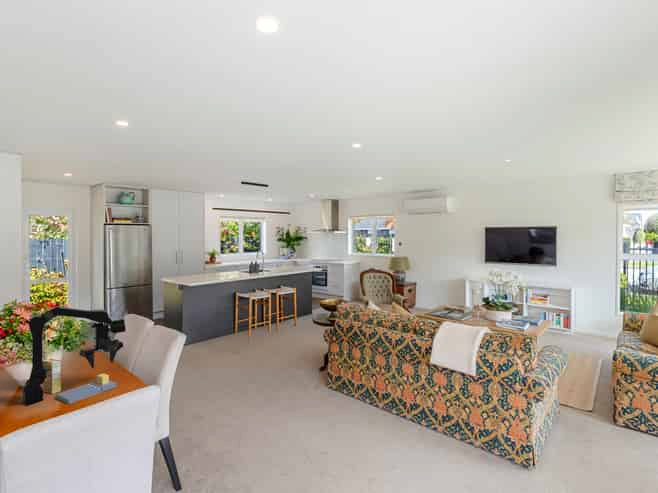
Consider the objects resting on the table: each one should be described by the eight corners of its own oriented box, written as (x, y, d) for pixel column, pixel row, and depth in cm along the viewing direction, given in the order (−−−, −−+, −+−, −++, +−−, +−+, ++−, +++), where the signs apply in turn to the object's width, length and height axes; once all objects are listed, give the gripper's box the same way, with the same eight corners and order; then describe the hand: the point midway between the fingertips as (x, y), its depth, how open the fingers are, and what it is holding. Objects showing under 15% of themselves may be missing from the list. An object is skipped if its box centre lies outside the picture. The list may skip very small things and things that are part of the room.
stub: (102, 391, 171) (101, 379, 171) (89, 387, 177) (89, 375, 177) (116, 386, 177) (116, 375, 177) (103, 382, 183) (103, 370, 183)
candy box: (41, 391, 173) (41, 360, 173) (51, 388, 177) (51, 358, 177) (52, 394, 170) (51, 363, 169) (61, 390, 173) (61, 360, 173)
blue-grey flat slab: (68, 404, 159) (68, 399, 159) (56, 398, 165) (56, 393, 165) (101, 392, 171) (101, 388, 171) (88, 387, 177) (88, 383, 177)
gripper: (91, 341, 166) (91, 374, 166) (129, 332, 182) (129, 362, 182) (78, 338, 171) (79, 370, 171) (116, 330, 187) (117, 359, 187)
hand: (102, 365), depth 178 cm, fingers open, 9 cm apart
